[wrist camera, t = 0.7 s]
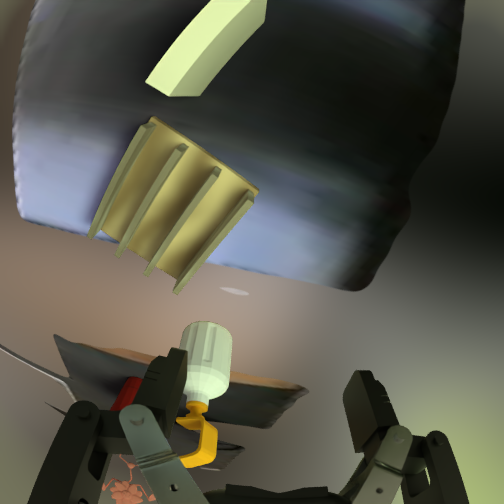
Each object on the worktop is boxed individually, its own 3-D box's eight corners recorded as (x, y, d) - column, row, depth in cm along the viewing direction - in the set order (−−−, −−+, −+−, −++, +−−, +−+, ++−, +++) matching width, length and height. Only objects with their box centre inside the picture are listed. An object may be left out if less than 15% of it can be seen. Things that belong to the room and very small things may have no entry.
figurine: (165, 447, 91) (155, 515, 61) (108, 427, 85) (91, 496, 55) (173, 439, 84) (162, 517, 54) (109, 417, 78) (89, 495, 48)
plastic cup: (151, 397, 64) (142, 434, 53) (115, 380, 60) (102, 417, 50) (166, 384, 59) (156, 427, 49) (126, 365, 56) (111, 408, 45)
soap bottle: (174, 325, 47) (142, 453, 26) (219, 314, 45) (201, 457, 24) (198, 354, 51) (179, 470, 31) (240, 346, 50) (234, 472, 29)
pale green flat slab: (183, 85, 27) (145, 81, 17) (247, 11, 22) (243, -30, 12) (199, 96, 28) (168, 96, 18) (264, 21, 23) (268, -16, 12)
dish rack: (98, 222, 36) (83, 237, 32) (154, 116, 29) (140, 119, 25) (184, 279, 41) (178, 298, 38) (259, 189, 34) (259, 202, 30)
